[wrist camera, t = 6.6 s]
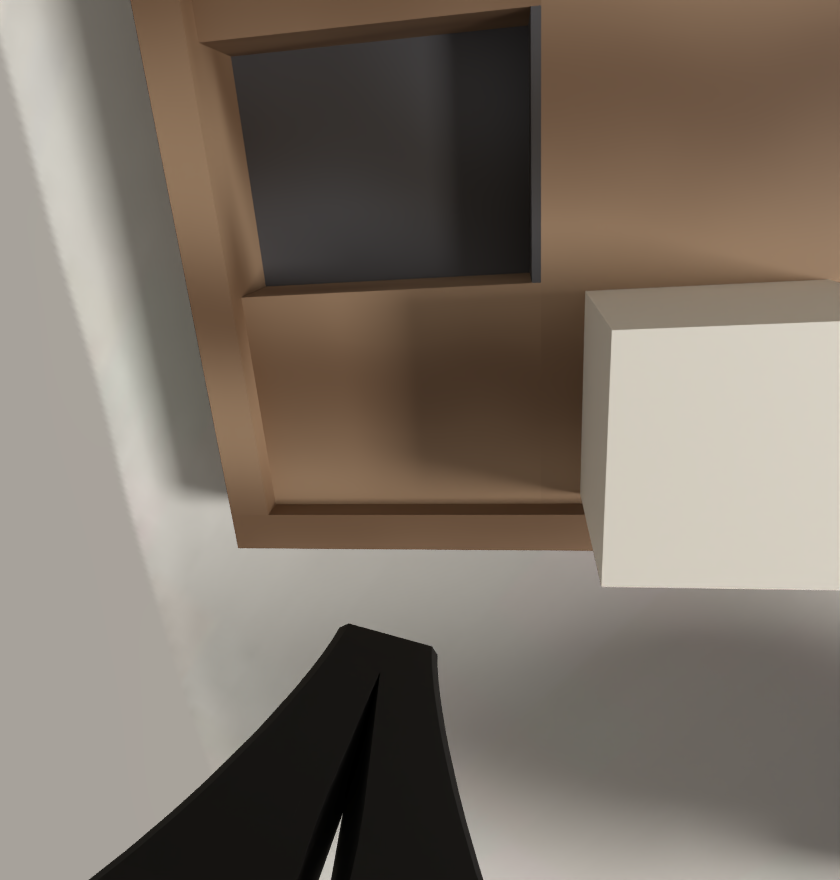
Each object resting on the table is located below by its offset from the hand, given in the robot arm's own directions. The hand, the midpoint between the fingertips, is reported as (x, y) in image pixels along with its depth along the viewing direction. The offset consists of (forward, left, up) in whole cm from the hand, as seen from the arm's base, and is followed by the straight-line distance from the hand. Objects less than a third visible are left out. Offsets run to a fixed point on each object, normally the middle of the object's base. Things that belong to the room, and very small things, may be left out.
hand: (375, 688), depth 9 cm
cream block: (+2, -6, -8) cm, 10 cm away
